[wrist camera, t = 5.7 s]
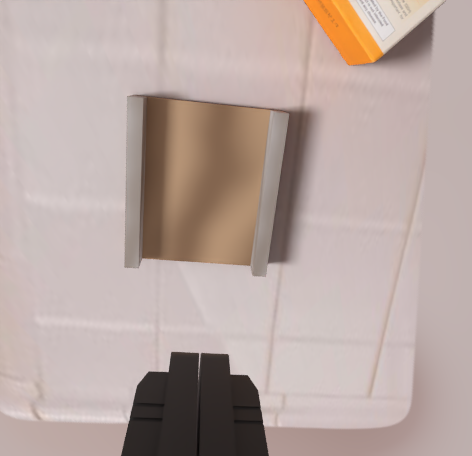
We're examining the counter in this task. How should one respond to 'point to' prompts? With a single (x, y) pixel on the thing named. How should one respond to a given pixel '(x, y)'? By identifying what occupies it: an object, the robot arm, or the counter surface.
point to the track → (201, 181)
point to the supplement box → (369, 24)
